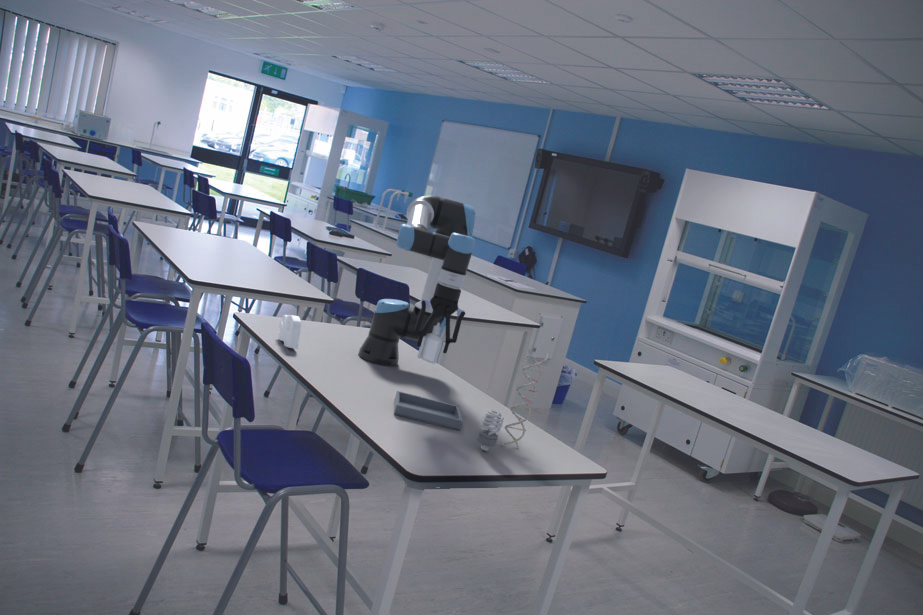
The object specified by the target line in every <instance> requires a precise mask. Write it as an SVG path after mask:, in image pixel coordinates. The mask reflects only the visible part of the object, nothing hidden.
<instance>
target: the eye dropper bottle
mask: <svg viewBox="0 0 923 615" xmlns="http://www.w3.org/2000/svg"><path fill="white" fill-rule="evenodd" d="M441 329H442V328H441V327H440V323H439V322H438V323H437V325H436V326H434V327H433V331H432V333H428V334H426V339H425V342H424V346H423V349H422V353H421V356H420V359H421V360H422V361H425V362H427V363H429V364H433V365H434V364H438V363H437V362H438V358H439V355H440V351H441V348H442V344H443V341H444V339H443V337H442V336H440V332H441Z"/></svg>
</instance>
